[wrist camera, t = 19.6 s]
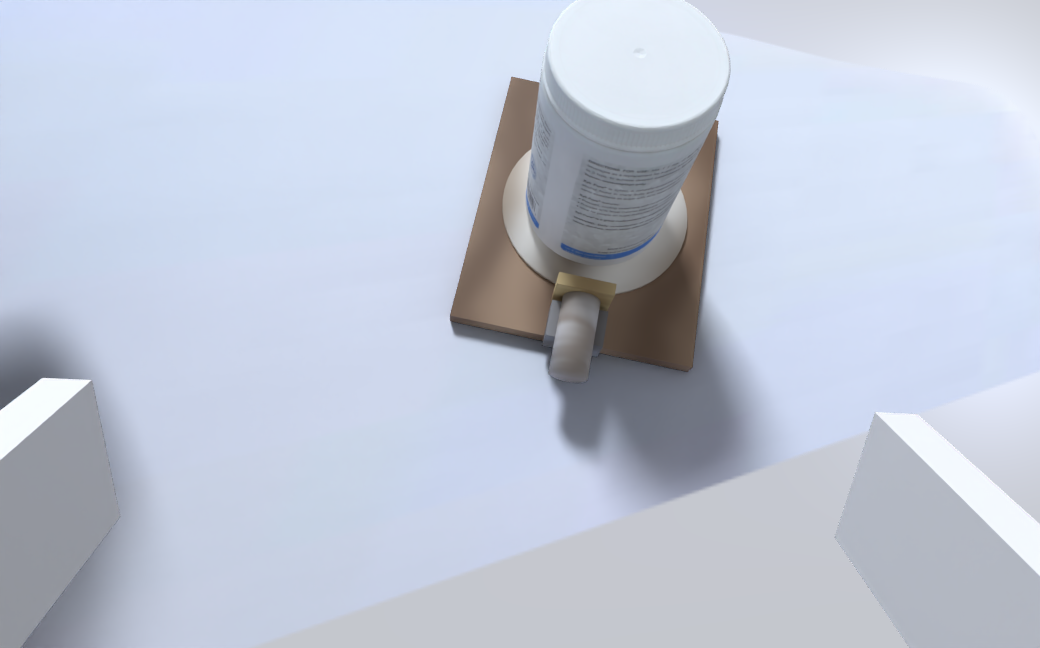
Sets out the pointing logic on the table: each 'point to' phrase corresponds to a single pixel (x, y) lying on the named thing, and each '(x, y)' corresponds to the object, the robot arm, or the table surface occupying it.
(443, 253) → the table surface
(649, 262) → the shaft board
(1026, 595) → the robot arm
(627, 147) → the supplement tub
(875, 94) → the table surface
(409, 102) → the table surface
